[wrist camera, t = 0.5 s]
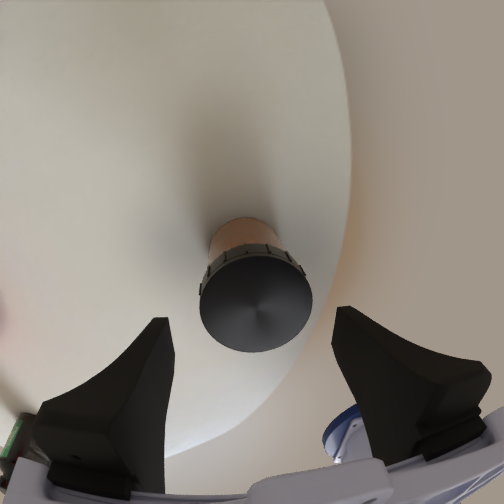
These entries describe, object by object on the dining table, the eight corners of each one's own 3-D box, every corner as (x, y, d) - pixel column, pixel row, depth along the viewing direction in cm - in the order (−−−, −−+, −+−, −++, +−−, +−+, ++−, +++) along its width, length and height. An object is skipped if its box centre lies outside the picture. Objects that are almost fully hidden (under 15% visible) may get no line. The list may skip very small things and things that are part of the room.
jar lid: (299, 332, 18) (305, 350, 16) (202, 335, 17) (201, 353, 16) (310, 242, 16) (320, 255, 14) (198, 241, 15) (196, 254, 14)
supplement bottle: (12, 406, 26) (-20, 474, 15) (52, 419, 27) (24, 496, 16) (30, 436, 29) (6, 499, 18) (69, 448, 30) (49, 517, 19)
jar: (278, 284, 23) (299, 341, 16) (209, 284, 22) (206, 343, 16) (283, 218, 21) (310, 257, 15) (209, 217, 21) (203, 257, 14)
